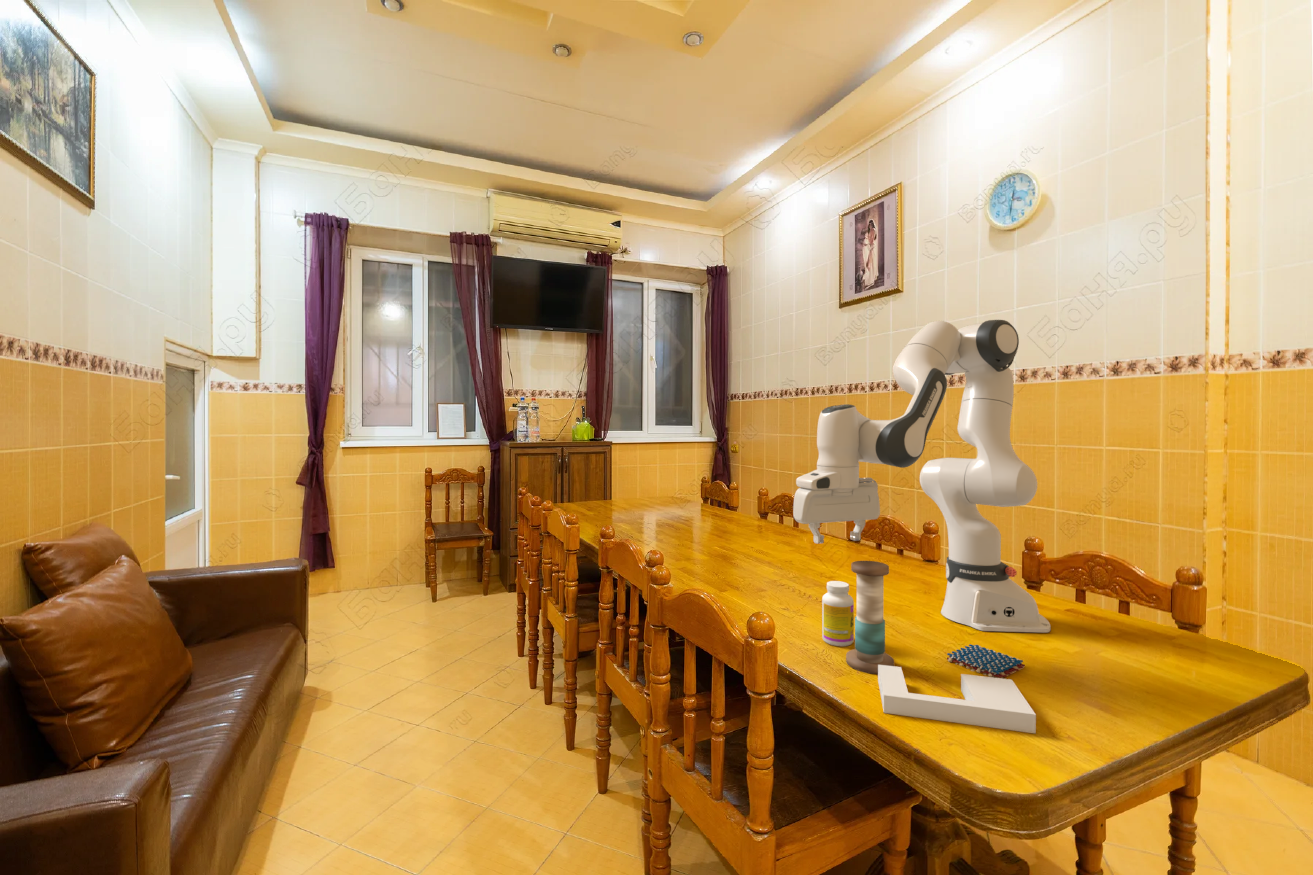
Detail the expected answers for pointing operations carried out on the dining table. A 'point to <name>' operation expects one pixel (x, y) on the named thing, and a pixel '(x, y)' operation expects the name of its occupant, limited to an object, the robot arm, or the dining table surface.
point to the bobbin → (869, 619)
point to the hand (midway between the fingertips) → (837, 541)
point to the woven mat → (986, 661)
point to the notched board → (960, 702)
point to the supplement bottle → (837, 615)
